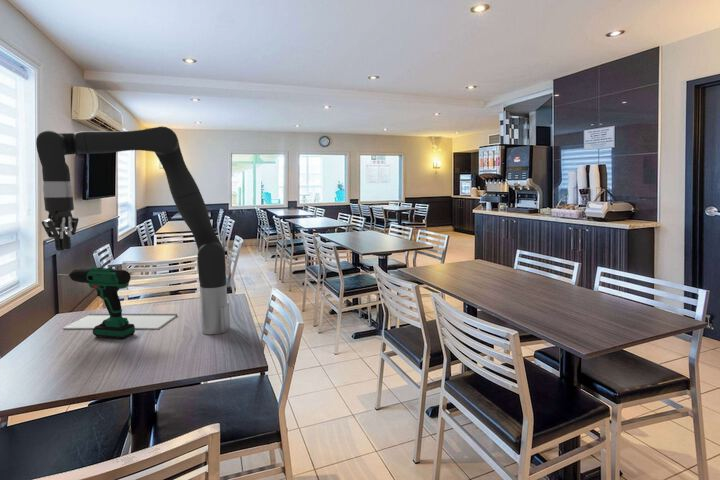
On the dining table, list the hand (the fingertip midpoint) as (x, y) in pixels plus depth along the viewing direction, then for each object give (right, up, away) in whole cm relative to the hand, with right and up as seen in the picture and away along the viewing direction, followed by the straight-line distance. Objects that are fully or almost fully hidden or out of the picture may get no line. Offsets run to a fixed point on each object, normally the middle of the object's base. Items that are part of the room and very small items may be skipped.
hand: (63, 249), depth 134 cm
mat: (+2, -29, +29) cm, 42 cm away
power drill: (0, -31, +16) cm, 35 cm away
